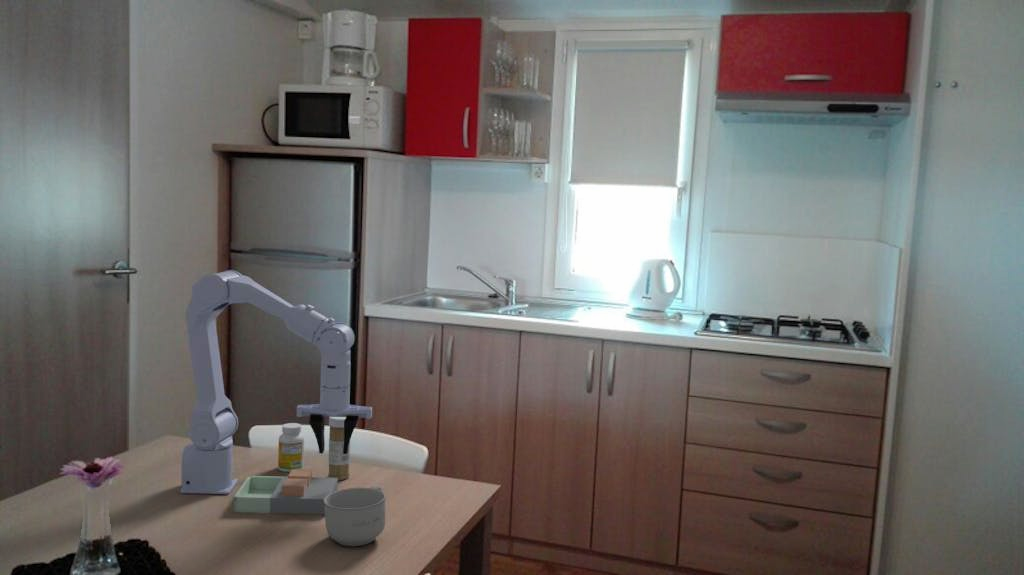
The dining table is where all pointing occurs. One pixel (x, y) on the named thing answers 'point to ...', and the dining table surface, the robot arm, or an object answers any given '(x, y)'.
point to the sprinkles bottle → (338, 450)
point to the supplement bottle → (291, 448)
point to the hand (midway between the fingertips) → (333, 452)
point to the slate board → (304, 497)
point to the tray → (255, 494)
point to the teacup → (355, 515)
